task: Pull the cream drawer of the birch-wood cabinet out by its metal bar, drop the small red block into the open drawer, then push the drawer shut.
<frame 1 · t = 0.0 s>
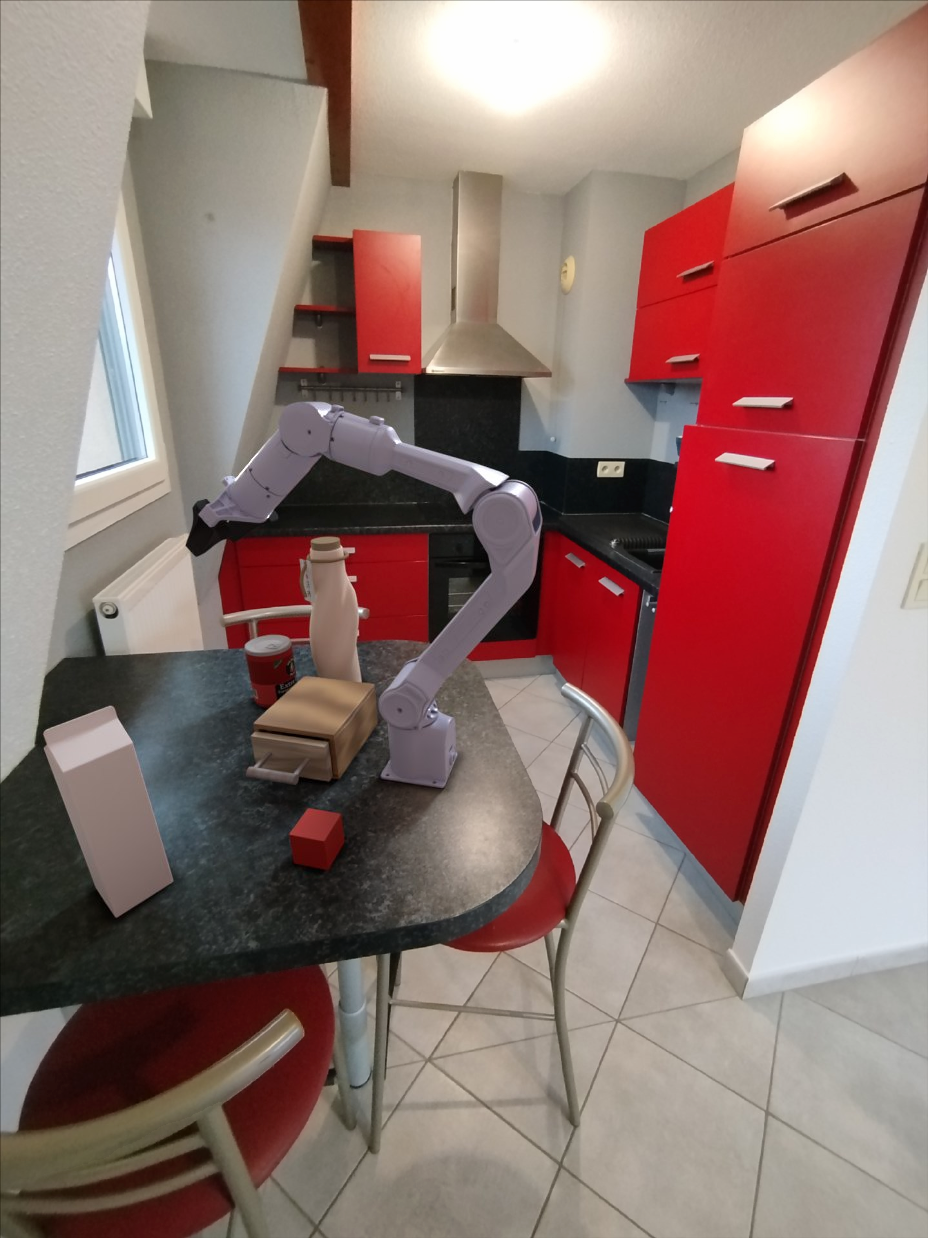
hand: (211, 543, 72), 32 cm above the table, tool tilted 50°, fingers open, 7 cm apart
milk: (135, 886, 59), on the table
water bottle: (339, 685, 101), on the table
cabinet: (323, 744, 84), on the table
canned food: (277, 698, 97), on the table
block: (320, 852, 63), on the table
drawer: (305, 741, 78), point 4 cm above the table, slide at 0.5 cm
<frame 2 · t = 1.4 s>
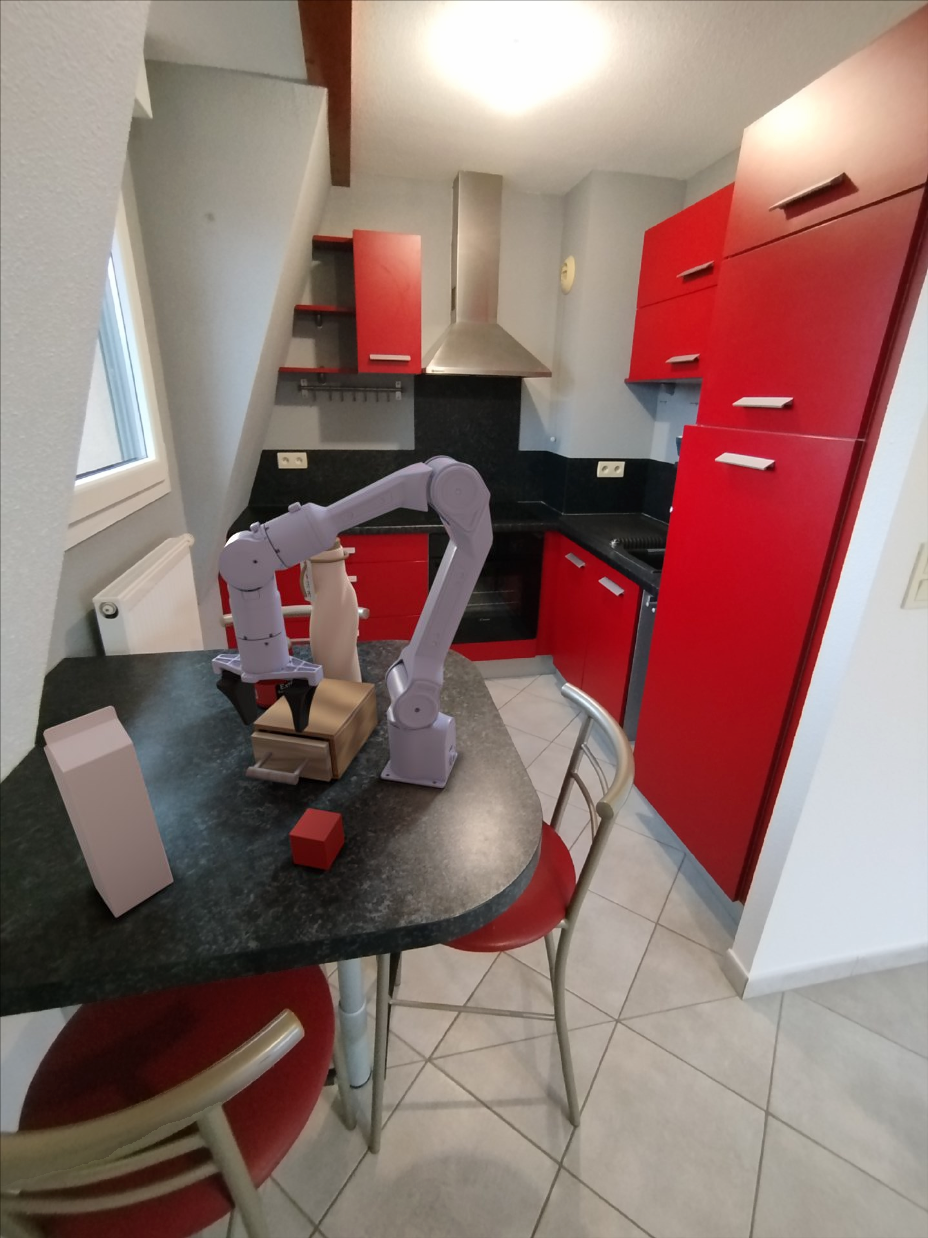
hand: (276, 725, 70), 10 cm above the table, tool pointing down, fingers open, 7 cm apart
nothing on the table moved.
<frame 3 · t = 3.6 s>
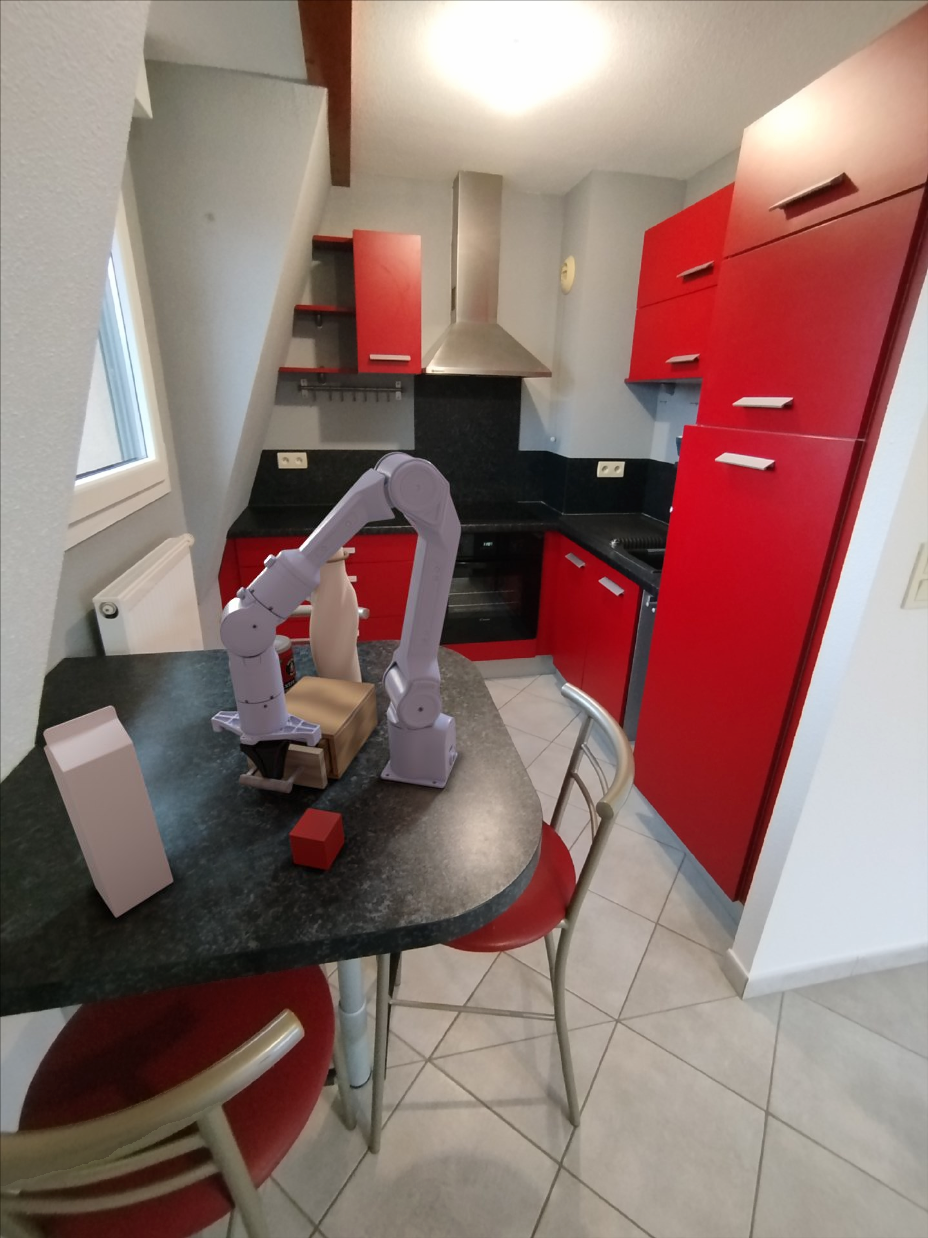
hand: (275, 780, 71), 3 cm above the table, tool pointing down, fingers closed, pressing on drawer
drawer: (299, 747, 77), point 4 cm above the table, slide at 2.1 cm, touching gripper
everything else where it was.
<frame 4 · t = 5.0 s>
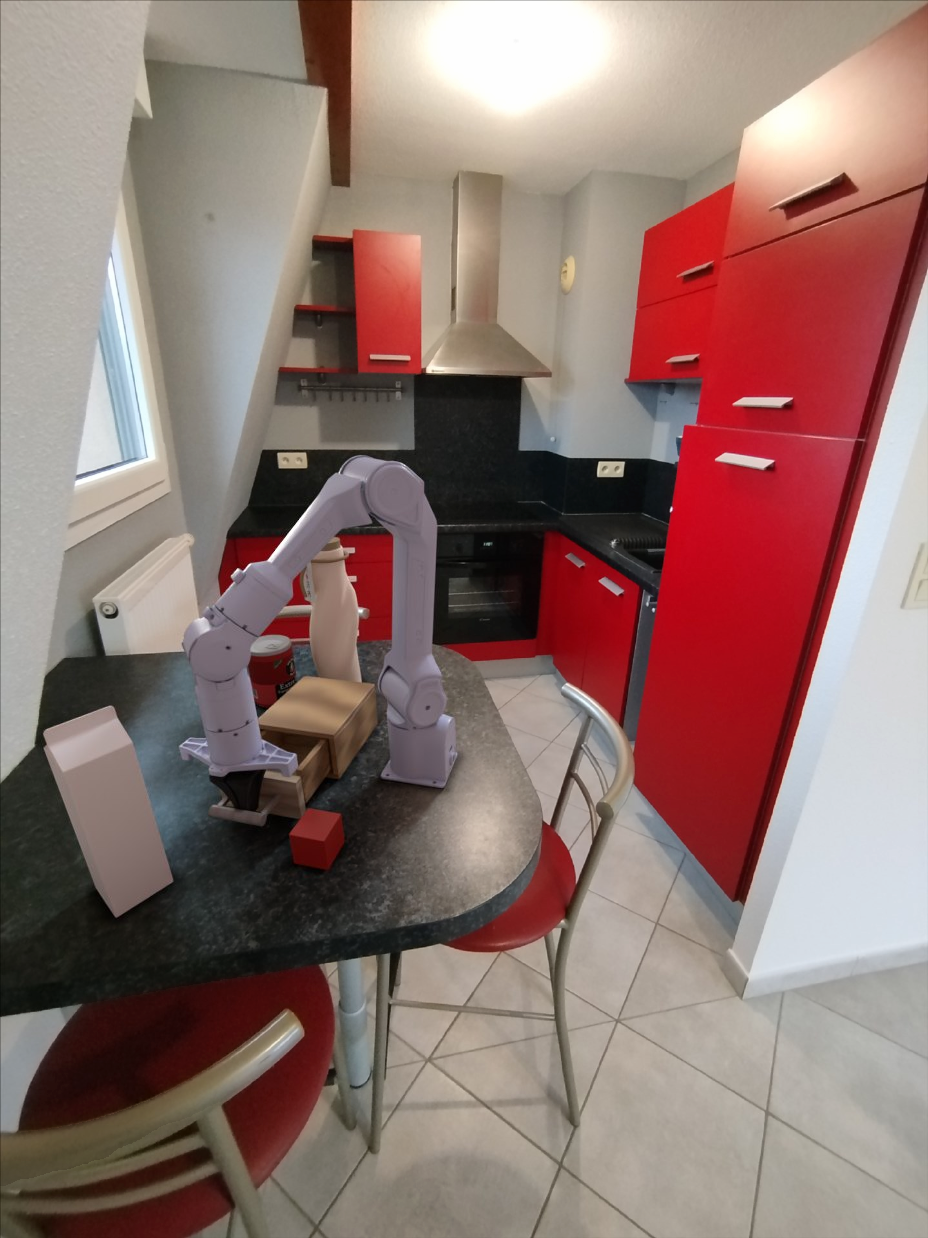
hand: (249, 811, 66), 3 cm above the table, tool pointing down, fingers closed, pressing on drawer
drawer: (277, 773, 71), point 4 cm above the table, slide at 8.0 cm, touching gripper
everything else where it was.
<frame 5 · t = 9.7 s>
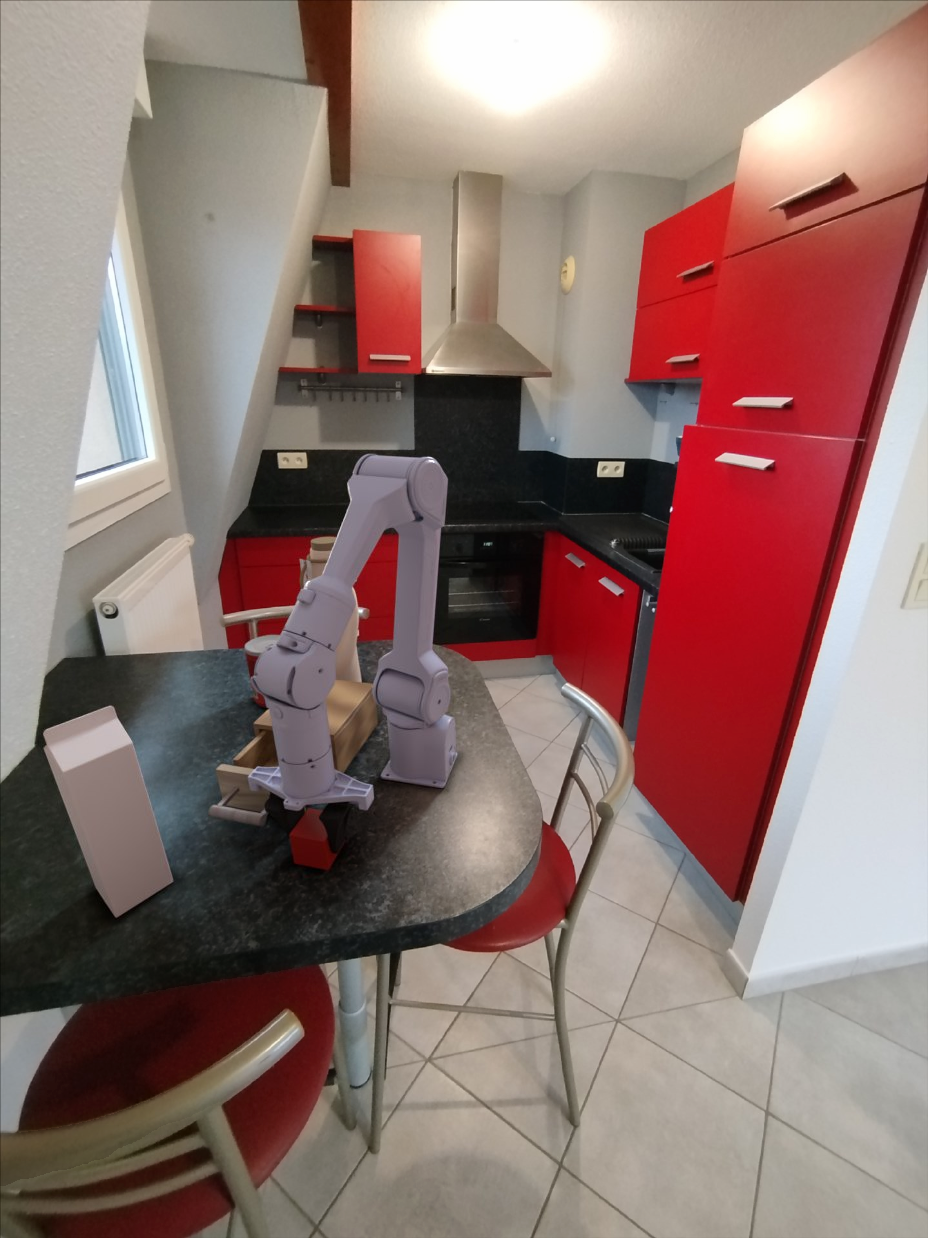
hand: (318, 843, 63), 1 cm above the table, tool pointing down, fingers closed on block, 4 cm apart
block: (320, 852, 63), on the table, touching gripper
drawer: (277, 773, 71), point 4 cm above the table, slide at 8.0 cm
everything else where it was.
when the fingers open (6 cm above the table, at t = 14.5 s): block stays where it is, resting on drawer.
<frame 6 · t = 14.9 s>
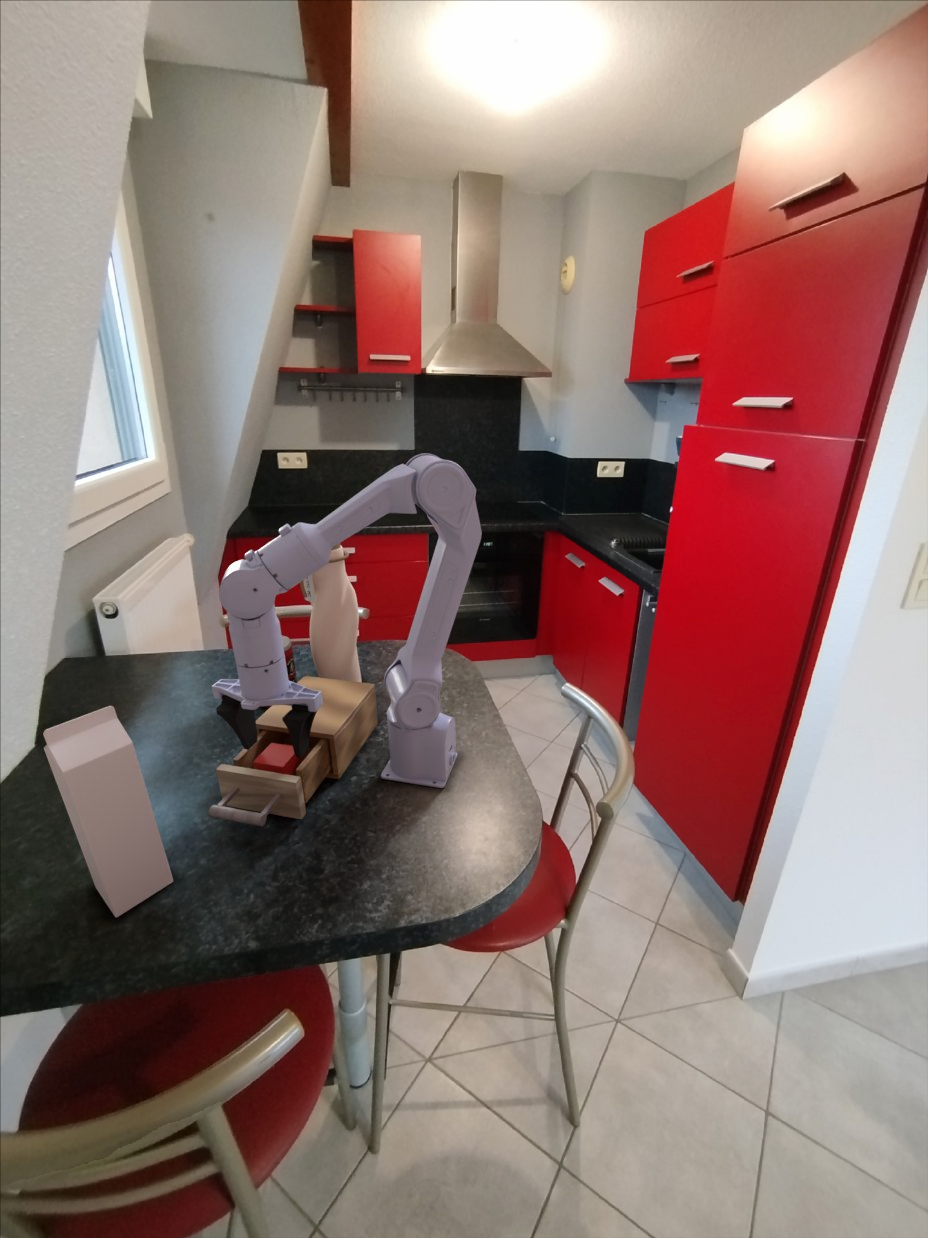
hand: (276, 748, 71), 7 cm above the table, tool pointing down, fingers open, 7 cm apart
block: (281, 781, 73), point 2 cm above the table, touching drawer
drawer: (277, 773, 71), point 4 cm above the table, slide at 8.0 cm, touching block
everything else where it was.
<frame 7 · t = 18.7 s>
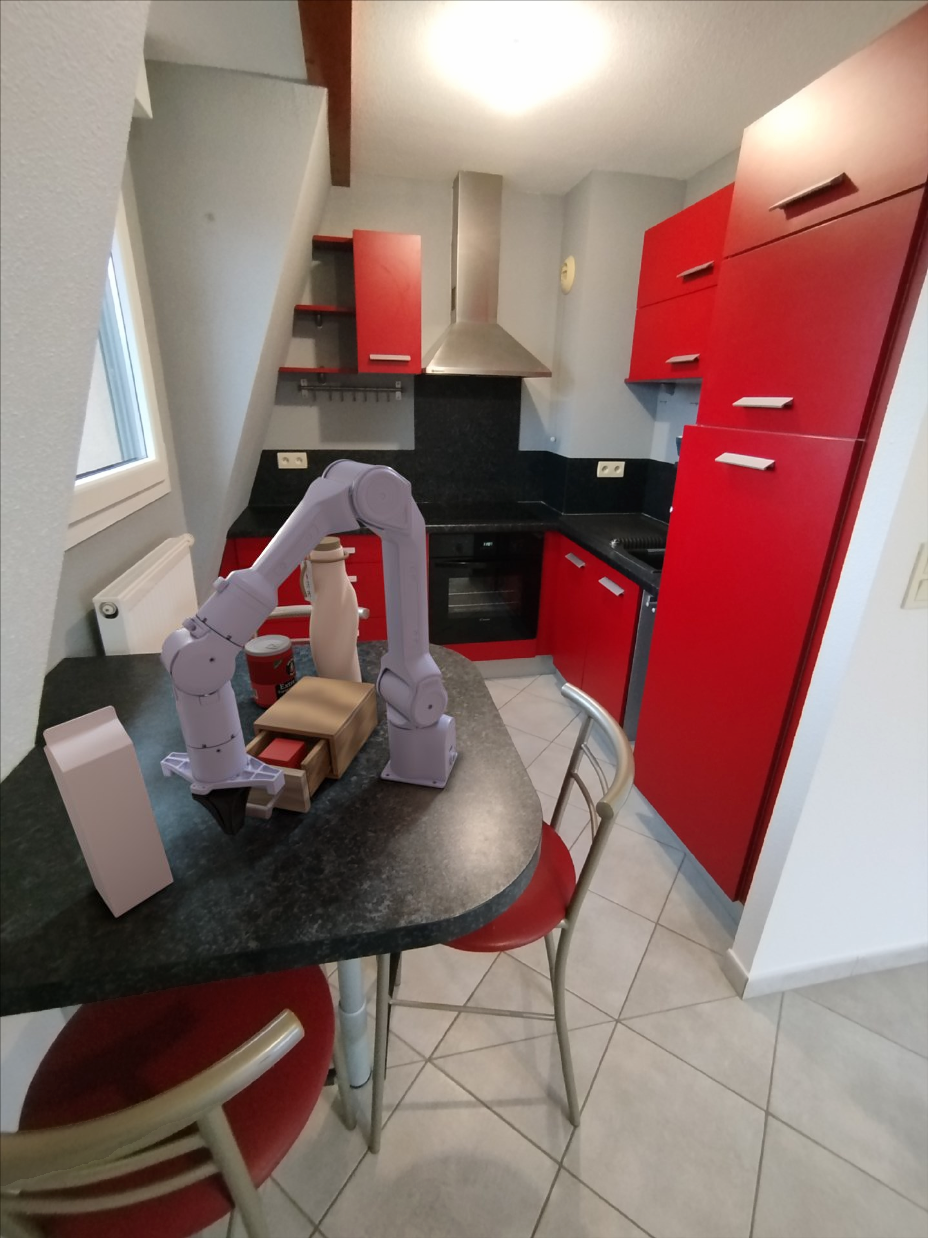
hand: (234, 829, 63), 3 cm above the table, tool pointing down, fingers closed, pressing on drawer
block: (286, 775, 74), point 2 cm above the table, touching drawer
drawer: (281, 767, 72), point 4 cm above the table, slide at 6.8 cm, touching block, gripper
everything else where it was.
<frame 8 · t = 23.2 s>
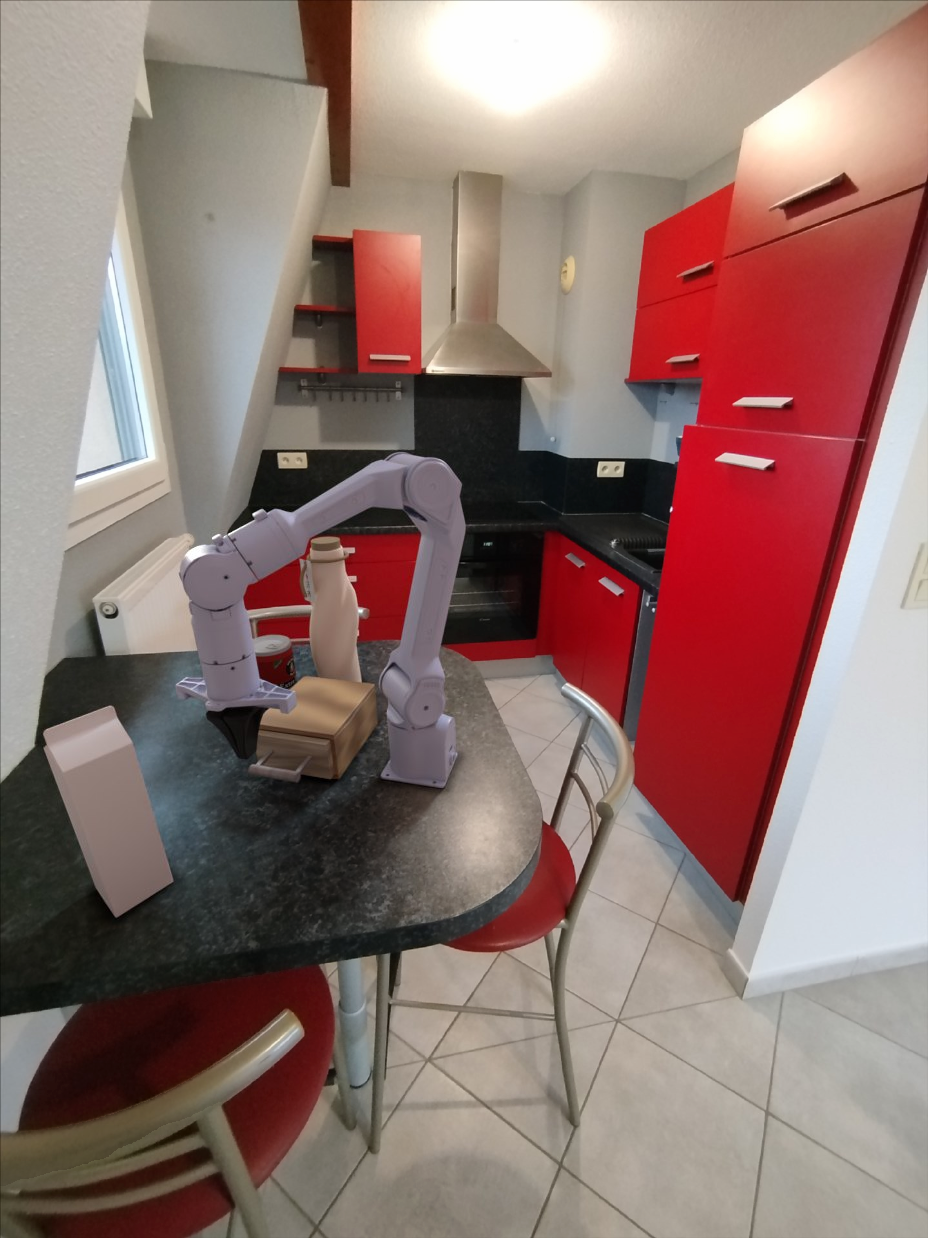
hand: (247, 754, 64), 10 cm above the table, tool pointing down, fingers closed
block: (310, 746, 80), point 2 cm above the table, touching drawer
drawer: (306, 739, 78), point 4 cm above the table, slide at 0.0 cm, touching block, cabinet
everything else where it was.
at the end: drawer pulled out 8.0 cm at the most during the clip, back to where it started at the end; block inside the target area in the cabinet (3.6 cm from its centre), point 2.0 cm above the cabinet's base; drawer slide at 0.0 cm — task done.
